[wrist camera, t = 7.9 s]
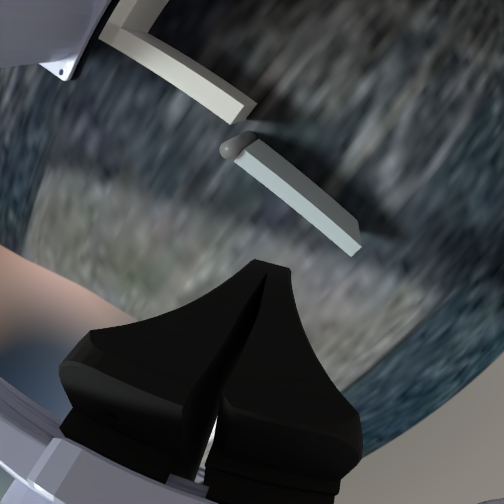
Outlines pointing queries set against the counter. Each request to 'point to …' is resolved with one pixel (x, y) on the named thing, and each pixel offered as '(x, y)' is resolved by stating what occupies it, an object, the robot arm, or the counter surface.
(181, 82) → the bracket
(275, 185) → the gate
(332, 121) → the counter surface
